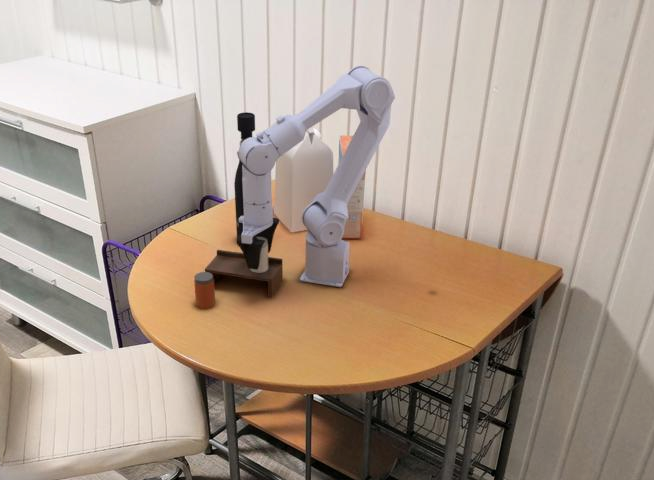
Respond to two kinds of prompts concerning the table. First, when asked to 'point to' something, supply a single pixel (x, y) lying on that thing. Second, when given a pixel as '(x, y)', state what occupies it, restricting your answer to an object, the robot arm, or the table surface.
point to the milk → (301, 178)
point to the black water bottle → (246, 128)
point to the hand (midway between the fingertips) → (259, 259)
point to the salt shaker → (262, 257)
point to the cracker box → (353, 199)
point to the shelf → (246, 269)
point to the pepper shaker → (204, 290)
